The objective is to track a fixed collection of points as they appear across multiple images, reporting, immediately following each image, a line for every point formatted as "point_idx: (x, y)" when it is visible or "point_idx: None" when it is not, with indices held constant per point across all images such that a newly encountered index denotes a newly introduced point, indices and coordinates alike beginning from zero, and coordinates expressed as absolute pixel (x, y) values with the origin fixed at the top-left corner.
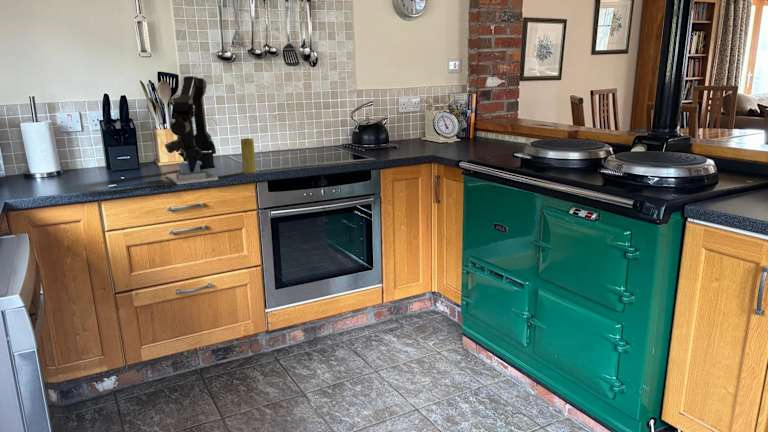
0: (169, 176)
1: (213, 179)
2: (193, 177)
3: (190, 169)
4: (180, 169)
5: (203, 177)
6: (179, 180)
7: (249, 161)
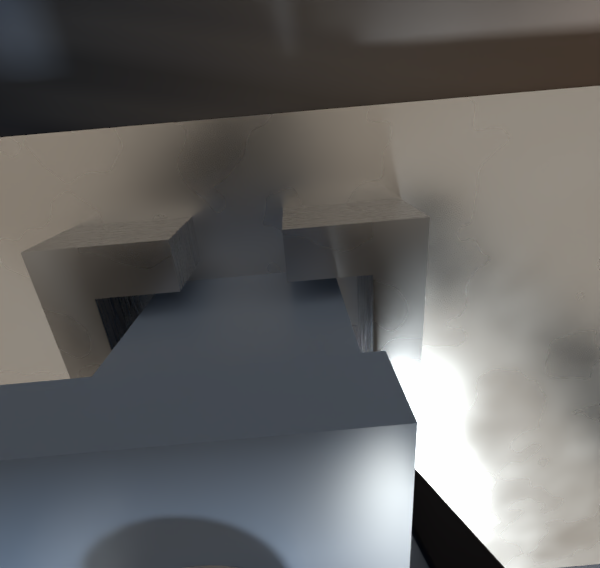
0: (587, 91)
1: None
2: None
3: None
4: (283, 357)
5: None
6: (42, 209)
7: None
